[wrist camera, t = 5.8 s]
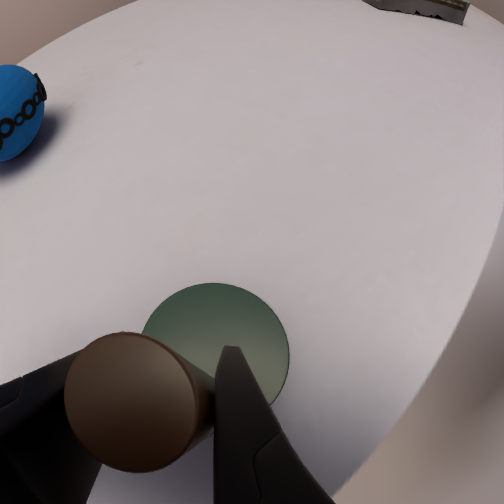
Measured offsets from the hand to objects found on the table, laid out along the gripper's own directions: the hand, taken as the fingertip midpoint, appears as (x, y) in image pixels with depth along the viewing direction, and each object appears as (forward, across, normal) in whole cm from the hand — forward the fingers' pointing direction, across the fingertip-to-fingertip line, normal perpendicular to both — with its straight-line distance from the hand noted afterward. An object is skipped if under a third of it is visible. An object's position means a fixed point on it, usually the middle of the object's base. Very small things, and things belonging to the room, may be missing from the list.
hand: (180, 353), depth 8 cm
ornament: (+16, +20, -6) cm, 26 cm away
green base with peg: (+5, 0, +4) cm, 7 cm away
